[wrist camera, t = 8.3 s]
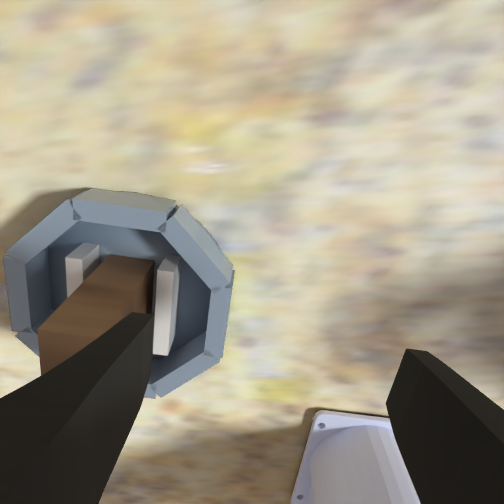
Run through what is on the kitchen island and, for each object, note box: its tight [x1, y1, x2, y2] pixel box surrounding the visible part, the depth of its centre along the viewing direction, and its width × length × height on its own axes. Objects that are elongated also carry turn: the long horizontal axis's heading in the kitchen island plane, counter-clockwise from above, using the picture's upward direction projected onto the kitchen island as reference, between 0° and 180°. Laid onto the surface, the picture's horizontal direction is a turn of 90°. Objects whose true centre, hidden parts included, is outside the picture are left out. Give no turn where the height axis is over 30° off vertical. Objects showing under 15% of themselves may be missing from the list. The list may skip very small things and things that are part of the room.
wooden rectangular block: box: [37, 254, 155, 375], centre depth 17 cm, size 4×2×7 cm, turn 172°
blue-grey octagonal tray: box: [3, 188, 235, 399], centre depth 20 cm, size 11×11×2 cm
